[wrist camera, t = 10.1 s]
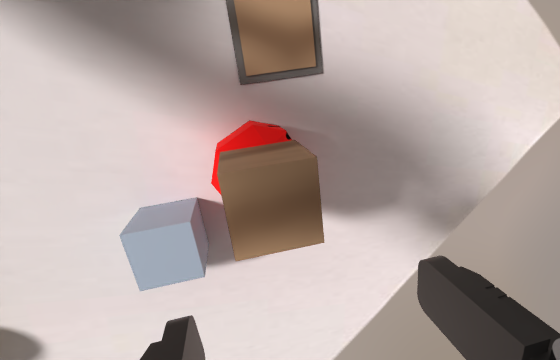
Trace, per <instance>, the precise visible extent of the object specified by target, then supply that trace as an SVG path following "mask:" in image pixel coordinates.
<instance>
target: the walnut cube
mask: <svg viewBox="0 0 560 360" xmlns="http://www.w3.org/2000/svg"><path fill="white" fill-rule="evenodd" d="M217 176H218V181H219V186H220V190H221V195H222V200H223V204H224V209H225V214H226V218H227V223H228V228H229V232H230V237H231V242H232V246H233V251H234V256H235V260H236V261H240V260H245V259H249V258H254V257H259V256H263V255H268V254H273V253H278V252H282V251H287V250H292V249H296V248H301V247H306V246H310V245H315V244H320V243H324V233H323V222H322V210H321V199H320V187H319V175H318V164H317V157H316V156H315V155H314V154H312V153H311V152H310V151H309V150H307V149H306V148H305V147H303V146H302V145H301V144H299V143H298V142H297V141H295V140H291V141H285V142H279V143H273V144H267V145H260V146H254V147H248V148H242V149H236V150H230V151H224V152H220V156H219V163H218V171H217Z"/></svg>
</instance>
